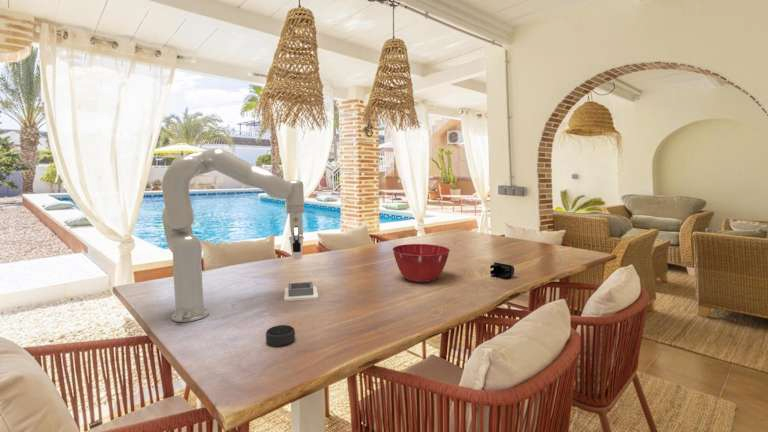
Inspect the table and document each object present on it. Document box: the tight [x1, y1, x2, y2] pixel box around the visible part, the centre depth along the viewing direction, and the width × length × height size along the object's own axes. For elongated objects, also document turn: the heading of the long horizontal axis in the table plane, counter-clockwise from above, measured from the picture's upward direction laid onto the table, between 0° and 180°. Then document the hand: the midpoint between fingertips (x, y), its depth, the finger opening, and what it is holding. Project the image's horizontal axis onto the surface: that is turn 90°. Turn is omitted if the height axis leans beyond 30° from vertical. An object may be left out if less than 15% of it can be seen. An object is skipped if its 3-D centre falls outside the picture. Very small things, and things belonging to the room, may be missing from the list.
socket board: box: [283, 281, 319, 302], centre depth 178 cm, size 16×14×4 cm
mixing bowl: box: [392, 243, 451, 284], centre depth 201 cm, size 28×28×15 cm
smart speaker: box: [265, 324, 296, 347], centre depth 129 cm, size 9×9×4 cm
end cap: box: [489, 262, 515, 281], centre depth 204 cm, size 10×7×7 cm
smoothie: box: [288, 227, 305, 261], centre depth 175 cm, size 6×6×14 cm
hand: (296, 250), depth 175 cm, fingers closed on smoothie, 6 cm apart
